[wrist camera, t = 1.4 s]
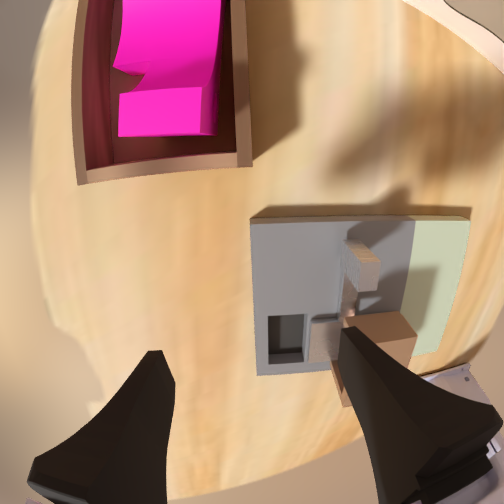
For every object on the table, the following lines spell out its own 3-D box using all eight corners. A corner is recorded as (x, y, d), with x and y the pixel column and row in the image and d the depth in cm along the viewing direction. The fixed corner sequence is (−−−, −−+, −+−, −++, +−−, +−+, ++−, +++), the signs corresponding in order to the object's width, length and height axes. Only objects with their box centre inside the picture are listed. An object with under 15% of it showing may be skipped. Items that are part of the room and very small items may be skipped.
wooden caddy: (241, -64, 12) (240, -92, 8) (251, 161, 19) (252, 166, 15) (111, -40, 12) (92, -60, 8) (105, 176, 19) (77, 185, 15)
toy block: (150, -33, 13) (117, -81, 6) (230, -41, 13) (224, -98, 6) (130, 138, 18) (73, 142, 11) (217, 135, 18) (199, 132, 11)
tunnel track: (460, 216, 20) (510, 241, 14) (430, 342, 25) (459, 383, 19) (249, 218, 20) (250, 253, 14) (256, 364, 25) (258, 420, 19)
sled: (412, 234, 19) (445, 257, 15) (389, 347, 23) (408, 381, 19) (314, 237, 19) (331, 264, 15) (306, 358, 23) (316, 397, 19)
